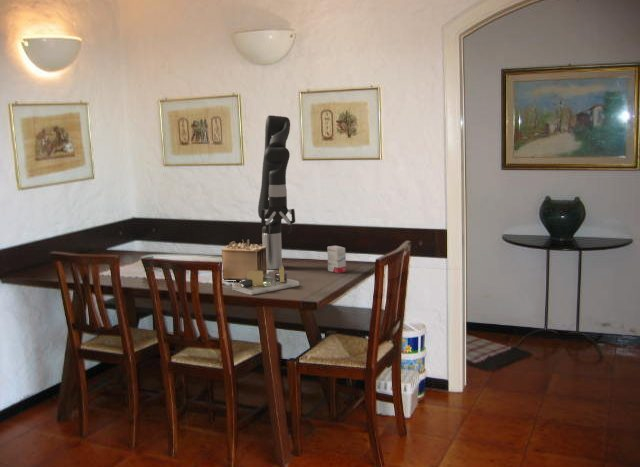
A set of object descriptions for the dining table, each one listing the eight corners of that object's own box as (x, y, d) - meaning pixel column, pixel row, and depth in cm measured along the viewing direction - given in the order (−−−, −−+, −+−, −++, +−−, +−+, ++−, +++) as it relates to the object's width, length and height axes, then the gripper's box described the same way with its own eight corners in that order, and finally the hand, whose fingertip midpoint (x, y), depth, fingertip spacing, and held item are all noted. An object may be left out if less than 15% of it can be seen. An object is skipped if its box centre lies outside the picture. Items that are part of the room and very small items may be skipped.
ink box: (346, 272, 343) (346, 247, 341) (337, 273, 340) (337, 248, 339) (336, 269, 350) (335, 245, 349) (327, 270, 348) (326, 246, 346)
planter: (221, 288, 314) (221, 244, 312) (213, 276, 338) (213, 236, 335) (278, 285, 321) (278, 242, 319) (266, 274, 345) (266, 234, 343)
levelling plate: (231, 289, 310) (231, 278, 310) (278, 280, 326) (278, 270, 326) (251, 294, 299) (251, 283, 299) (299, 285, 315) (298, 275, 315)
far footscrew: (274, 278, 321) (274, 264, 320) (286, 277, 322) (286, 264, 321) (276, 282, 312) (275, 268, 311) (288, 281, 312) (287, 268, 312)
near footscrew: (240, 286, 305) (239, 272, 304) (241, 283, 310) (241, 270, 309) (262, 286, 305) (262, 272, 304) (263, 283, 310) (263, 269, 309)
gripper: (295, 194, 312) (296, 232, 314) (262, 194, 313) (263, 232, 315) (293, 196, 305) (294, 234, 307) (259, 196, 306) (260, 234, 308)
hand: (278, 233), depth 311 cm, fingers open, 8 cm apart
